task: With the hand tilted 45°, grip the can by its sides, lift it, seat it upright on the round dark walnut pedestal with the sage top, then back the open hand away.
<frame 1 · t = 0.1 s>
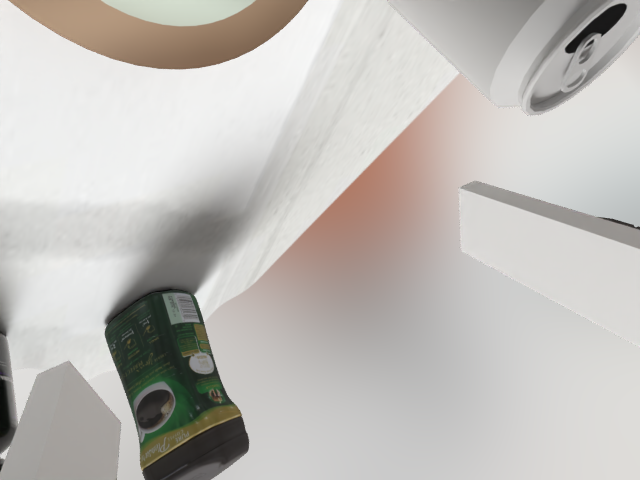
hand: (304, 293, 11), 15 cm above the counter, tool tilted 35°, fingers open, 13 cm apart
coffee jar: (151, 307, 40), on the counter
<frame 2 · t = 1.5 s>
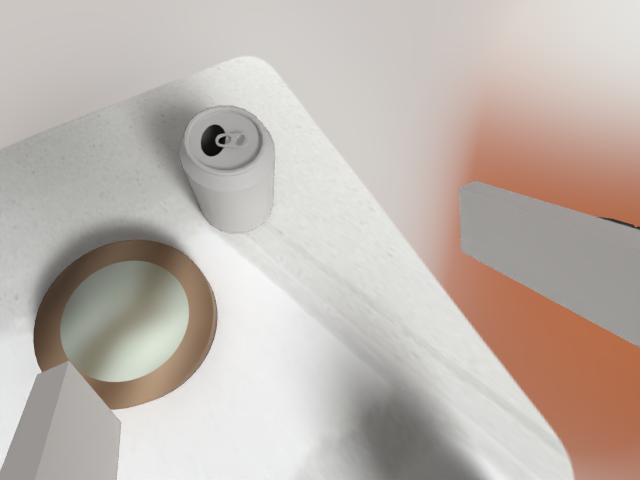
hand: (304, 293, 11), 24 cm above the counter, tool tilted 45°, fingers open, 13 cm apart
pedestal: (139, 322, 33), on the counter
can: (238, 204, 38), on the counter
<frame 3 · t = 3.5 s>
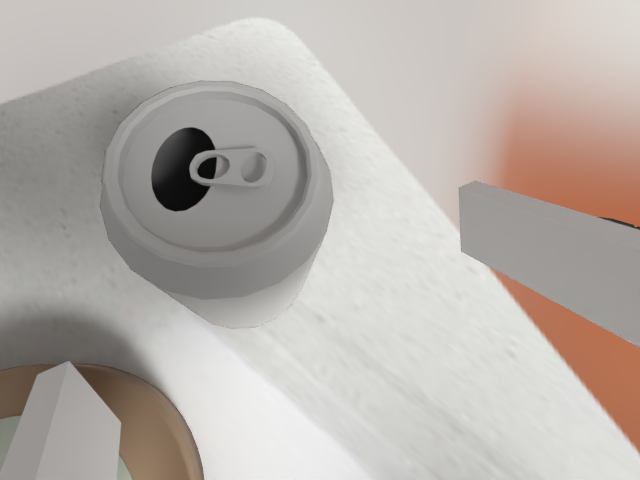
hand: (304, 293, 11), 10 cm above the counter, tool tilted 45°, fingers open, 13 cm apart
can: (243, 267, 22), on the counter
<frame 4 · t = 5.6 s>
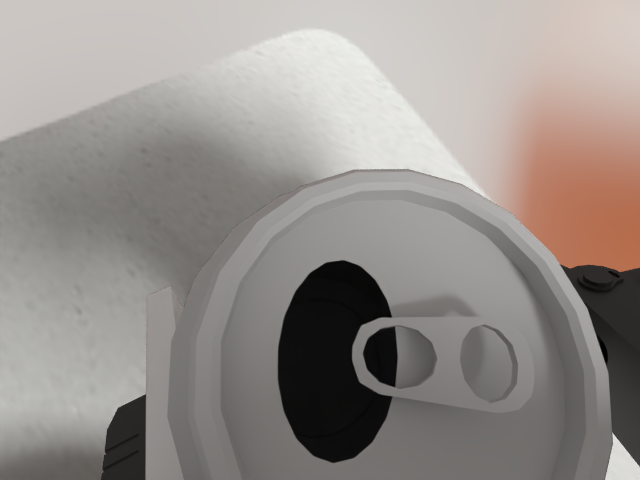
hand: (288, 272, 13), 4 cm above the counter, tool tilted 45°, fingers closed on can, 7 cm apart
can: (315, 363, 16), on the counter, touching gripper
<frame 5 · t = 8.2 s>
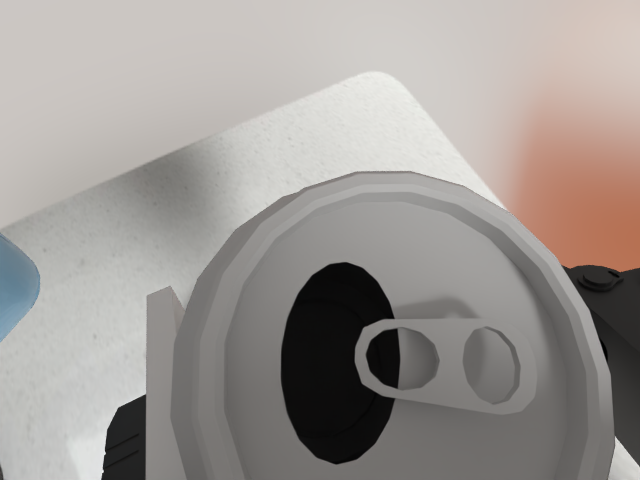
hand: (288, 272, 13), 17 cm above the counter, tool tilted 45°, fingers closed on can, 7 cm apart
can: (316, 363, 16), point 13 cm above the counter, touching gripper
when the fingers open (9 cm above the counter, at t = 10.9 s): can drops 1 cm, resting on pedestal.
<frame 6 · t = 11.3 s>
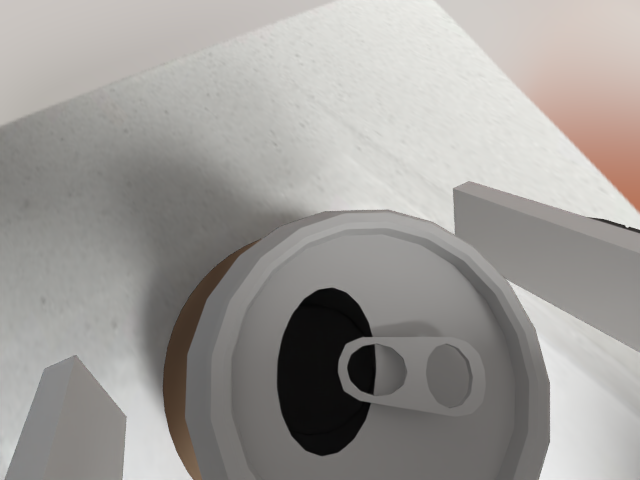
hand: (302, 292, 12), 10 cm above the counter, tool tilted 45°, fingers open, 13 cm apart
pedestal: (306, 363, 20), on the counter
can: (312, 365, 17), point 3 cm above the counter, touching pedestal
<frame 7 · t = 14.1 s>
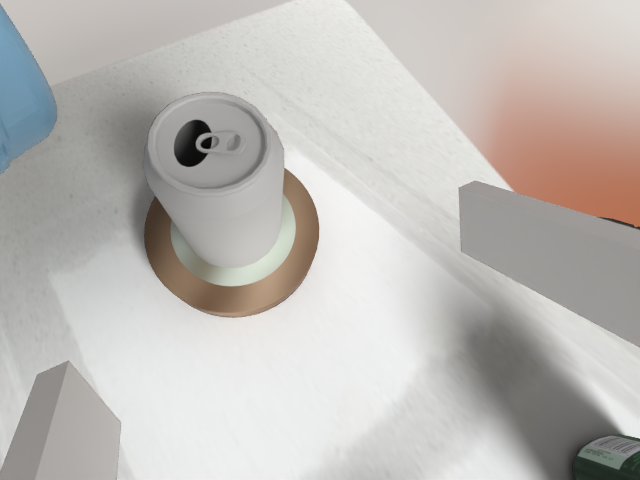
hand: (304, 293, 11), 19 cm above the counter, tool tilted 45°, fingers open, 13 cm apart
pedestal: (238, 238, 32), on the counter
can: (234, 227, 29), point 3 cm above the counter, touching pedestal
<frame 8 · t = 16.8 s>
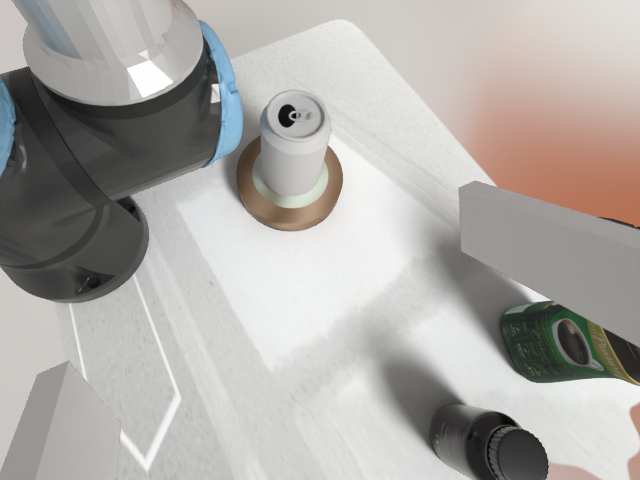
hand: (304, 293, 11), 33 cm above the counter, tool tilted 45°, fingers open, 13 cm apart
pedestal: (289, 184, 49), on the counter
supplement bottle: (455, 434, 41), on the counter
can: (290, 174, 47), point 3 cm above the counter, touching pedestal
coffee jar: (528, 341, 46), on the counter
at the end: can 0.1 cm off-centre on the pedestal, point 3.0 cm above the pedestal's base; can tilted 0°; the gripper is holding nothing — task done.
